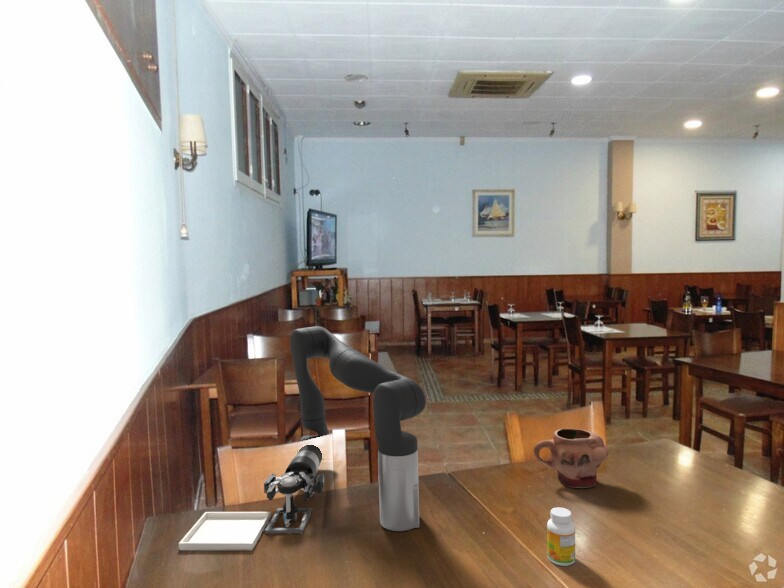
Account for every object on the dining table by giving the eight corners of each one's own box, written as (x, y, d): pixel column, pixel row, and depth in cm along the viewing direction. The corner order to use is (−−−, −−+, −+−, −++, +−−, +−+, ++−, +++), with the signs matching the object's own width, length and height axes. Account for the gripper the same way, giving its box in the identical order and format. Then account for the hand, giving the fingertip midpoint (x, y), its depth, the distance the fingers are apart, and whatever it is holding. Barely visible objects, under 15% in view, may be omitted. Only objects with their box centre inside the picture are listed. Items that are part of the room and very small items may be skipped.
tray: (271, 517, 122) (270, 511, 122) (252, 550, 108) (252, 543, 108) (205, 518, 122) (205, 511, 122) (178, 550, 108) (178, 543, 108)
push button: (298, 529, 116) (296, 486, 116) (275, 529, 116) (273, 487, 116) (303, 514, 123) (301, 474, 122) (281, 515, 123) (279, 475, 122)
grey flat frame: (312, 511, 125) (311, 506, 125) (302, 533, 114) (302, 528, 114) (277, 511, 125) (277, 506, 125) (265, 533, 114) (264, 528, 114)
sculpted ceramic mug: (544, 495, 130) (543, 442, 130) (527, 476, 143) (526, 427, 142) (618, 490, 132) (618, 438, 131) (595, 471, 144) (595, 423, 144)
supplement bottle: (543, 552, 104) (542, 506, 104) (568, 550, 105) (568, 504, 104) (553, 567, 99) (553, 519, 99) (580, 565, 100) (579, 517, 99)
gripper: (276, 455, 135) (257, 480, 119) (329, 455, 134) (317, 480, 118) (277, 483, 135) (258, 512, 119) (330, 482, 134) (318, 512, 118)
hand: (287, 496), depth 118 cm, fingers open, 8 cm apart
